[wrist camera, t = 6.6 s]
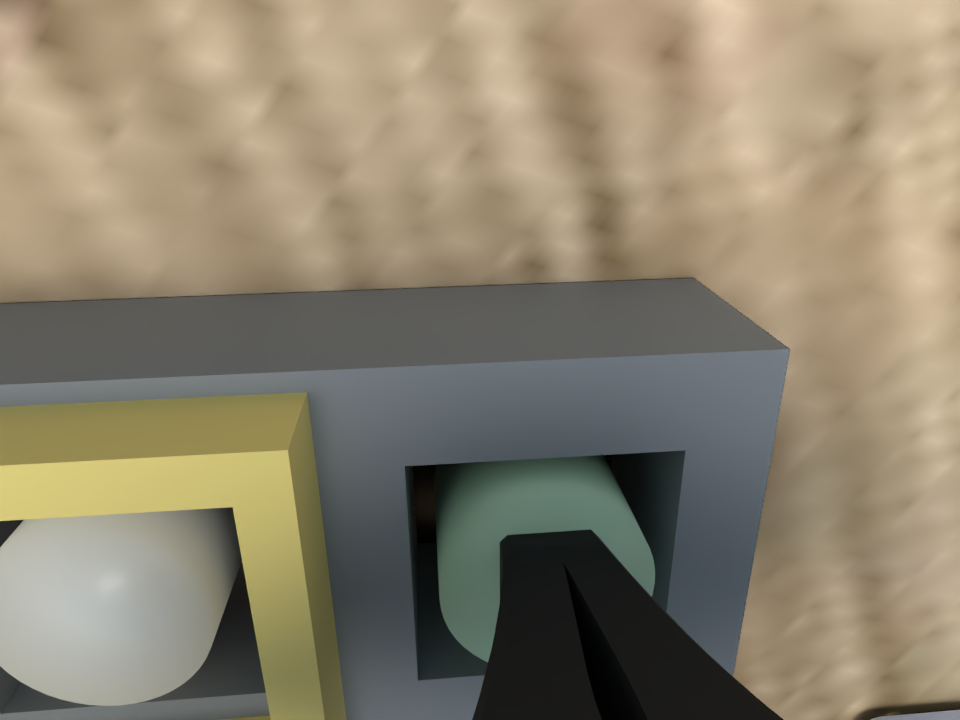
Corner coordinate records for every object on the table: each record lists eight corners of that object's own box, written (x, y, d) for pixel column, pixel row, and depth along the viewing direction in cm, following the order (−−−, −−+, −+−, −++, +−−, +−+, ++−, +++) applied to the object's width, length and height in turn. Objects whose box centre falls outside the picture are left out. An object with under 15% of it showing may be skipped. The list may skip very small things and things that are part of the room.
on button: (609, 397, 12) (664, 490, 10) (599, 543, 14) (645, 663, 11) (430, 406, 12) (435, 504, 9) (437, 554, 13) (442, 679, 11)
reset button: (244, 415, 12) (193, 520, 9) (268, 565, 13) (230, 697, 10) (50, 425, 12) (-62, 535, 9) (93, 576, 13) (6, 714, 10)
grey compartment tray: (-58, 305, 12) (-365, 459, 7) (694, 277, 13) (855, 397, 8) (48, 626, 14) (-125, 889, 10) (659, 583, 15) (765, 803, 11)
